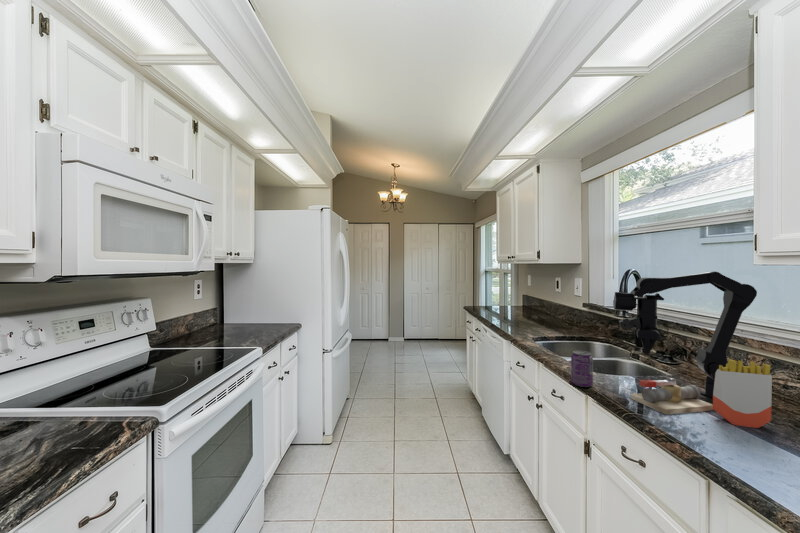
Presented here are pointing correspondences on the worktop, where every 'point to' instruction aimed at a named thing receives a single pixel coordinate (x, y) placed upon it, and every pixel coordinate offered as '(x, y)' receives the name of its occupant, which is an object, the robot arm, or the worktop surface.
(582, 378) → the beverage can
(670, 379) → the valve lever
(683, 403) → the valve board
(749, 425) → the french fries container
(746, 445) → the worktop surface
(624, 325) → the robot arm
